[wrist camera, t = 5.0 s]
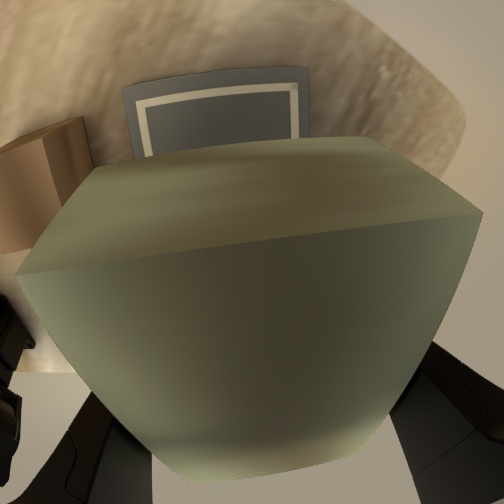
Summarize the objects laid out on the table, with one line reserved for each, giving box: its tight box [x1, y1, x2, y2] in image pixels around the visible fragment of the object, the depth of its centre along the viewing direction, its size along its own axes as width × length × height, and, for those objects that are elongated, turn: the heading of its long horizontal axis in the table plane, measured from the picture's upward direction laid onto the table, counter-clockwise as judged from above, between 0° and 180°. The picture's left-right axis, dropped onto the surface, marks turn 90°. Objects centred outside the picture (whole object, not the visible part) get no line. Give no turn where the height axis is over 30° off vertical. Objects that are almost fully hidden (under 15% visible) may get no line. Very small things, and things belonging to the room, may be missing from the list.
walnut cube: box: [0, 116, 94, 255], centre depth 13 cm, size 5×5×5 cm
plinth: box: [122, 66, 310, 159], centre depth 17 cm, size 9×13×2 cm
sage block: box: [14, 136, 483, 483], centre depth 8 cm, size 6×10×4 cm, turn 4°
